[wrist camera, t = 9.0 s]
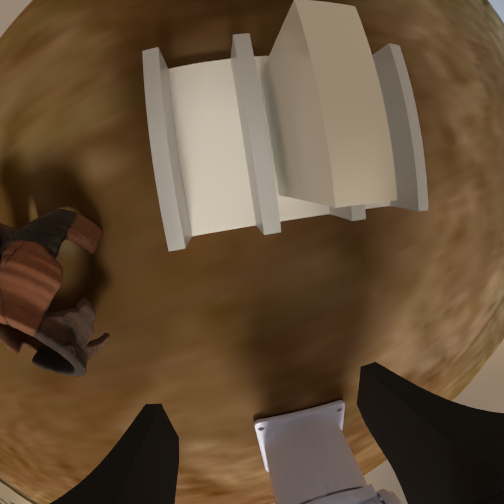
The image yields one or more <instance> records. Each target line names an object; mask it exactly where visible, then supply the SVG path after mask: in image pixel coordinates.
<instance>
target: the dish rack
mask: <svg viewBox="0 0 504 504" xmlns="http://www.w3.org/2000/svg"><path fill="white" fill-rule="evenodd" d="M142 53H143V73H144V87H145V100H146V110H147V120H148V129H149V138H150V146H151V153H152V160H153V167H154V174H155V180H156V187H157V193H158V198H159V204H160V210H161V215H162V220H163V225H164V230H165V235H166V240H167V245H168V250H169V251H173V250H179V249H185V248H186V247H187V245H188V243H189V241H190V239H191V237H192V236H196V235H201V234H207V233H213V232H219V231H224V230H230V229H236V228H242V227H248V226H255V225H256V226H257V227H258V228H259V229H260V231H261V232H262V233H263V234H264V235H267V234H273V233H279V232H281V225H280V221H286V220H293V219H299V218H306V217H313V216H319V215H326V214H331V215H335V216H338V217H341V218H344V219H347V220H350V221H356V220H362V219H366V212H365V209H370V208H377V207H385V206H394V207H399V208H404V209H409V210H414V211H425V210H428V192H427V179H426V168H425V159H424V151H423V143H422V137H421V130H420V125H419V119H418V114H417V109H416V104H415V99H414V95H413V91H412V87H411V83H410V79H409V75H408V71H407V68H406V64H405V61H404V58H403V55H402V51H401V48H400V45H395V44H391V43H389V44H387V45H386V46H384V47H383V48H381V49H380V50H379V51H377V52H376V53H374V54H373V55H372V57H373V60H374V64H375V68H376V71H377V75H378V79H379V83H380V87H381V92H382V96H383V101H384V105H385V110H386V115H387V121H388V127H389V132H390V139H391V145H392V153H393V160H394V169H395V178H396V189H397V200H395V201H386V202H378V203H370V204H362V205H354V206H346V207H339V208H334V207H330V206H325V205H321V204H317V203H312V202H308V201H303V200H299V199H294V198H290V197H285V196H280V195H279V194H278V187H277V180H276V173H275V166H274V159H273V153H272V146H271V140H270V133H269V127H268V121H267V115H266V109H265V103H264V97H263V91H262V86H261V80H260V77H261V75H262V72H263V70H264V67H265V65H266V62H267V60H268V57H269V56H255V57H254V54H253V48H252V43H251V38H250V33H246V34H234V35H233V39H232V48H231V58H230V59H223V60H216V61H209V62H202V63H196V64H190V65H185V66H180V67H175V68H170V69H168V67H167V65H166V63H165V60H164V58H163V56H162V54H161V52H160V49H159V47H156V48H152V49H148V50H144V51H142Z"/></svg>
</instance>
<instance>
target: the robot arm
mask: <svg viewBox="0 0 504 504" xmlns="http://www.w3.org/2000/svg"><path fill="white" fill-rule="evenodd" d="M357 405H358V408H359V410H360V413H361V415H362V417H363V419H364V422H365V424H366V426H367V427H368V429H369V431H370V432H371V434H372V435H373V437H374V439H375V440H376V442H377V444H378V445H379V447H380V448H381V450H382V451H383V453H384V455H385V456H386V458H387V459H388V461H389V463H390V464H391V466H392V468H393V470H394V471H395V474H396V476H397V478H398V480H399V483H400V485H401V487H402V489H403V492H404V495H405V497H406V500H407V502H408V504H504V413H496V412H490V411H485V410H480V409H475V408H471V407H467V406H465V405H461V404H458V403H455V402H452V401H450V400H447V399H445V398H442V397H440V396H438V395H435V394H433V393H431V392H429V391H427V390H425V389H423V388H421V387H419V386H417V385H415V384H413V383H411V382H409V381H408V380H406V379H404V378H402V377H401V376H399V375H397V374H395V373H394V372H392V371H390V370H389V369H387V368H385V367H383V366H382V365H380V364H378V363H376V362H374V363H371V364H368V365H365V366H362V367H361V371H360V381H359V390H358V398H357ZM344 410H345V403H344V401H343V400H338V401H335V402H332V403H328V404H325V405H321V406H317V407H314V408H310V409H306V410H302V411H297V412H293V413H289V414H284V415H279V416H274V417H269V418H264V419H259V420H256V421H255V422H254V426H255V430H256V434H257V438H258V442H259V446H260V450H261V454H262V458H263V461H264V465H265V469H266V471H268V472H269V474H270V479H271V483H272V488H273V493H274V498H275V503H276V504H402V502H401V500H400V499H399V498H398V496H396V494H395V493H394V492H391V491H387V490H384V489H382V490H380V491H378V492H375V490H374V488H373V486H372V484H370V485H368V484H367V482H366V480H365V478H364V476H363V474H362V472H361V470H360V468H359V466H358V464H357V462H356V459H355V457H354V455H353V453H352V451H351V449H350V447H349V445H348V443H347V441H346V439H345V437H344V435H343V433H342V428H343V420H344ZM260 427H261V428H260ZM178 466H179V437H178V435H177V434H176V432H175V430H174V428H173V426H172V424H171V422H170V420H169V418H168V416H167V415H166V413H165V411H164V409H163V406H162V404H146V405H145V406H144V407H143V409H142V410H141V411H140V413H139V414H138V415H137V417H136V418H135V420H134V421H133V422H132V424H131V425H130V427H129V428H128V429H127V431H126V432H125V433H124V435H123V436H122V437H121V439H120V440H119V441H118V443H117V444H116V445H115V446H114V448H113V449H112V450H111V451H110V452H109V454H108V455H107V456H106V457H105V458H104V459H103V461H102V462H101V463H100V464H99V465H98V466H97V467H96V468H95V469H94V470H93V471H92V472H91V473H90V474H89V475H88V476H87V477H86V478H85V479H84V480H83V481H81V482H80V483H79V484H78V485H76V486H75V487H74V488H72V489H71V490H70V491H68V492H67V493H66V494H64V495H63V496H62V497H60V498H58V499H57V500H55V501H54V502H52V503H50V504H174V503H175V493H176V484H177V475H178Z"/></svg>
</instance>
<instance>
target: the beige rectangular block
mask: <svg viewBox="0 0 504 504" xmlns="http://www.w3.org/2000/svg"><path fill="white" fill-rule="evenodd" d="M260 80H261V86H262V91H263V97H264V103H265V109H266V115H267V121H268V127H269V133H270V140H271V146H272V153H273V159H274V166H275V173H276V180H277V187H278V194H279V195H280V196H285V197H290V198H294V199H299V200H303V201H308V202H312V203H317V204H321V205H325V206H330V207H334V208H339V207H346V206H354V205H362V204H370V203H378V202H386V201H395V200H397V189H396V178H395V169H394V160H393V153H392V145H391V139H390V132H389V127H388V121H387V115H386V110H385V105H384V101H383V96H382V92H381V87H380V83H379V79H378V75H377V71H376V68H375V64H374V60H373V57H372V53H371V50H370V47H369V44H368V40H367V37H366V34H365V31H364V28H363V26H362V23H361V20H360V17H359V15H358V12H357V9H356V7H355V6H350V5H345V4H338V3H331V2H323V1H313V0H294V1H293V3H292V5H291V7H290V10H289V12H288V14H287V16H286V18H285V21H284V23H283V25H282V27H281V29H280V32H279V34H278V36H277V39H276V41H275V43H274V46H273V48H272V50H271V53H270V55H269V57H268V60H267V62H266V65H265V67H264V70H263V72H262V75H261V77H260Z"/></svg>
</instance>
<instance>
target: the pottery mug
mask: <svg viewBox="0 0 504 504" xmlns="http://www.w3.org/2000/svg"><path fill="white" fill-rule="evenodd" d="M102 234H103V232H102V230H101V229H100V228H99V227H98V226H97V225H96V224H95V223H94V222H92V221H90V220H89V219H88V218H86V217H84V216H82V215H80V214H77V213H75V212H72V211H68V210H65V209H54V210H50V211H48V212H46V213H45V214H43V215H42V216H40V217H39V218H37V219H35V220H33V221H32V222H29V223H27V224H25V225H24V226H23V227H20V228H12V227H9V226H6V225H4V224H1V223H0V341H1V342H2V343H3V344H4V345H6V346H7V347H8V348H9V349H11V350H12V351H14V352H15V353H17V354H18V353H19V352H20V349H21V347H22V345H23V344H24V345H26V346H28V347H30V348H32V349H34V350H36V351H37V353H36V354H35V355H34V357H33V359H32V363H33V364H35V365H37V366H39V367H41V368H43V369H46V370H49V371H52V372H55V373H58V374H62V375H67V376H78V377H79V376H82V375H84V374H86V365H87V361H88V360H89V359H91V358H93V357H94V356H96V355H97V354H98V353H99V352H100V351H101V350H102V349H103V347H104V346H105V345H106V343H107V341H108V339H109V337H110V335H109V334H108V333H104V334H103V335H102V336H101V337H100V338H98V339H96V340H93V341H90V340H91V339H92V335H93V321H94V319H95V310H94V308H93V307H92V305H91V303H90V301H89V300H88V299H87V298H83V299H81V300H80V301H79V303H78V304H77V305H76V307H75V308H69V309H67V310H64V311H60V312H51V313H48V312H47V309H48V307H49V306H50V303H51V301H52V299H53V298H54V296H55V294H56V293H57V291H58V290H59V289H60V287H61V286H62V283H63V281H62V279H63V270H62V267H61V265H60V264H59V262H58V261H57V260H56V257H57V255H58V253H59V249H60V246H61V243H62V242H63V241H64V240H65V239H67V240H69V241H71V242H74V243H75V244H76V245H78V246H80V247H81V248H83V249H84V250H85V251H87V252H88V253H90V254H92V253H94V252H95V250H96V249H97V247H98V242H99V240H100V238H101V236H102ZM22 331H23V332H22ZM24 332H25V333H27V334H25V333H24Z"/></svg>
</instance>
